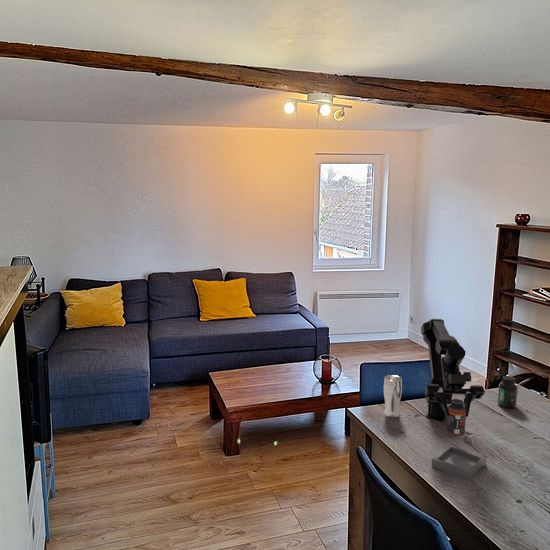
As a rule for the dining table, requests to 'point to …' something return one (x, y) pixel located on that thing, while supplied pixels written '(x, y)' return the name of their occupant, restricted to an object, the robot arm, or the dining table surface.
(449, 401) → the robot arm
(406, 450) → the dining table surface
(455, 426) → the supplement bottle
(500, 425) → the dining table surface
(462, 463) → the tray
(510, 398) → the supplement bottle
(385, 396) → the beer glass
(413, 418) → the dining table surface
